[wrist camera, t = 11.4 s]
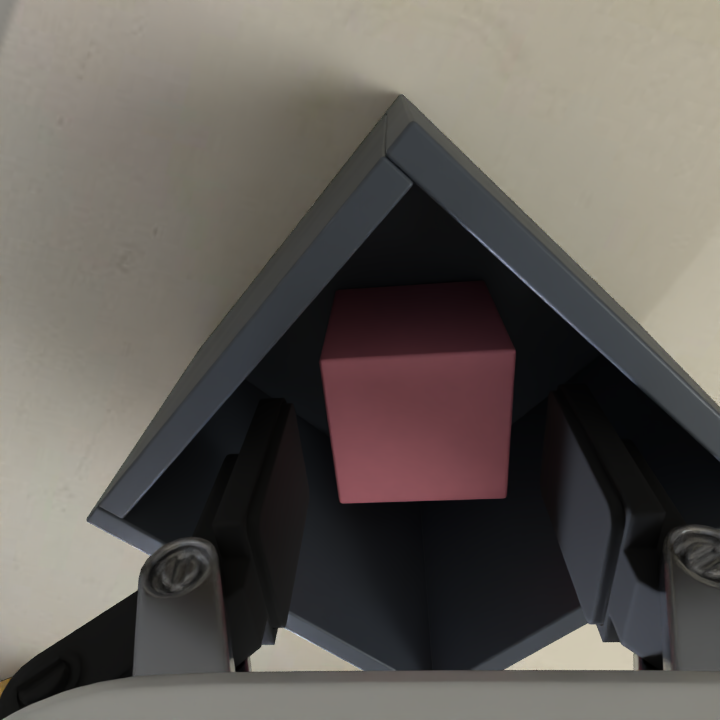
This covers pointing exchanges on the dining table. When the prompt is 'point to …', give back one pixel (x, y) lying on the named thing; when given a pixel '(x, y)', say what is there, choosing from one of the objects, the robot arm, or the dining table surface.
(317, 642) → the grey bin
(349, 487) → the block
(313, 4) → the dining table surface
